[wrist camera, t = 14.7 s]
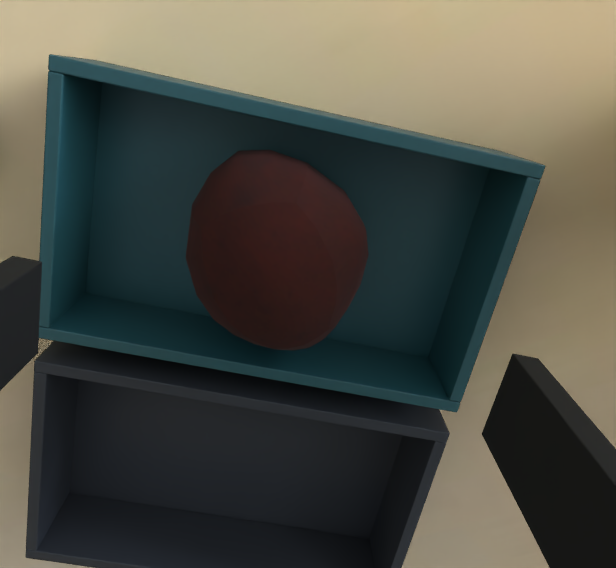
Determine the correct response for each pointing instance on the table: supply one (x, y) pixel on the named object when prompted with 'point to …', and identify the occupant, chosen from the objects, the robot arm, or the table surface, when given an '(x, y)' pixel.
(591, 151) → the table surface
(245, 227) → the potato
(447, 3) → the table surface
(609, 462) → the robot arm
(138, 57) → the table surface
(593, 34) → the table surface
